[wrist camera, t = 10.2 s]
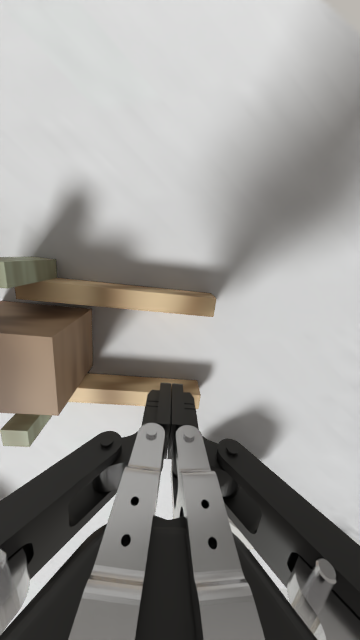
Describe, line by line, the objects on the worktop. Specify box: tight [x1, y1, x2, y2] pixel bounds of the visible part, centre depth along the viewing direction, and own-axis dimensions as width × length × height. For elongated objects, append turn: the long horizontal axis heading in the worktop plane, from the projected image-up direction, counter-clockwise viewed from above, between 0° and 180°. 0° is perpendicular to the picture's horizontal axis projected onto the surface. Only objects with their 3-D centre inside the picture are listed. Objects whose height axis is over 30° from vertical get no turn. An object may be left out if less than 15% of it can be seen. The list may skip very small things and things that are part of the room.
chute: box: [0, 257, 216, 447], centre depth 18 cm, size 16×14×6 cm
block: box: [0, 301, 93, 416], centre depth 17 cm, size 8×6×7 cm
